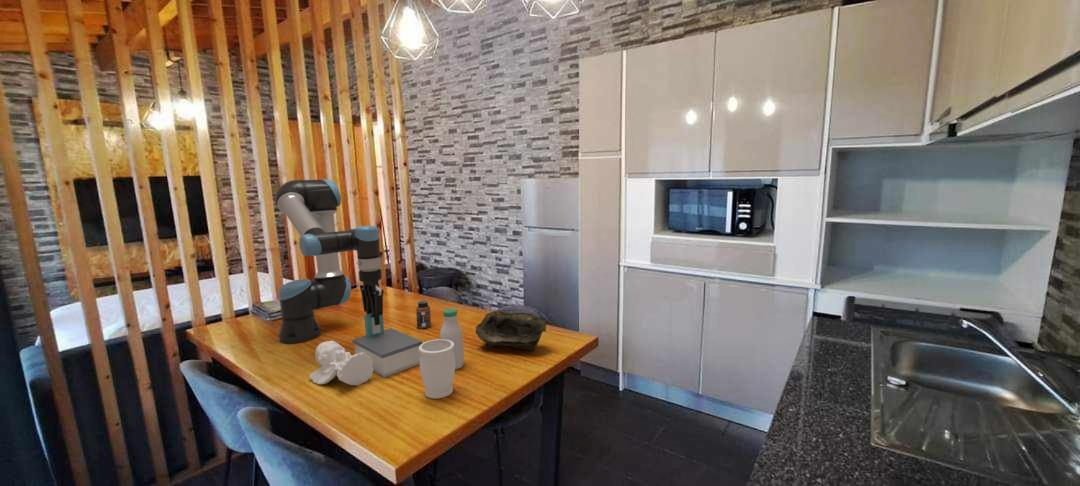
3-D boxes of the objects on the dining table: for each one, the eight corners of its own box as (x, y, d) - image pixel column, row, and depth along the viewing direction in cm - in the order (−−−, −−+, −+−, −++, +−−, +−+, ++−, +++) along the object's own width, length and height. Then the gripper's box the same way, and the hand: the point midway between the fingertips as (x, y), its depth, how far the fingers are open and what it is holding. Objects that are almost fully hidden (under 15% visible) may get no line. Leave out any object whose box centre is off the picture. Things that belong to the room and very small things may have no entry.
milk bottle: (468, 362, 150) (465, 307, 147) (456, 372, 143) (454, 314, 140) (448, 359, 153) (446, 306, 150) (437, 369, 146) (433, 312, 143)
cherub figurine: (334, 364, 127) (300, 343, 138) (336, 401, 130) (303, 377, 141) (373, 348, 137) (339, 330, 148) (375, 383, 140) (341, 362, 151)
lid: (352, 344, 152) (350, 317, 151) (391, 332, 163) (389, 307, 162) (382, 360, 138) (380, 331, 137) (422, 346, 149) (420, 319, 148)
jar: (425, 384, 135) (422, 339, 132) (458, 383, 136) (456, 337, 133) (418, 402, 124) (415, 353, 122) (454, 400, 125) (452, 351, 123)
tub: (356, 361, 153) (354, 342, 152) (392, 349, 164) (390, 331, 162) (384, 377, 140) (382, 357, 139) (421, 363, 150) (420, 344, 149)
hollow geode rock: (547, 364, 159) (558, 327, 167) (537, 350, 150) (549, 312, 157) (482, 350, 170) (495, 316, 178) (469, 337, 161) (483, 302, 168)
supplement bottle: (427, 329, 184) (425, 304, 182) (414, 328, 185) (413, 303, 184) (433, 324, 190) (432, 300, 188) (421, 324, 191) (419, 299, 189)
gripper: (349, 268, 155) (355, 330, 158) (370, 273, 145) (375, 340, 148) (369, 264, 160) (374, 325, 164) (390, 270, 150) (395, 334, 154)
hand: (374, 332), depth 156 cm, fingers closed on lid, 2 cm apart
